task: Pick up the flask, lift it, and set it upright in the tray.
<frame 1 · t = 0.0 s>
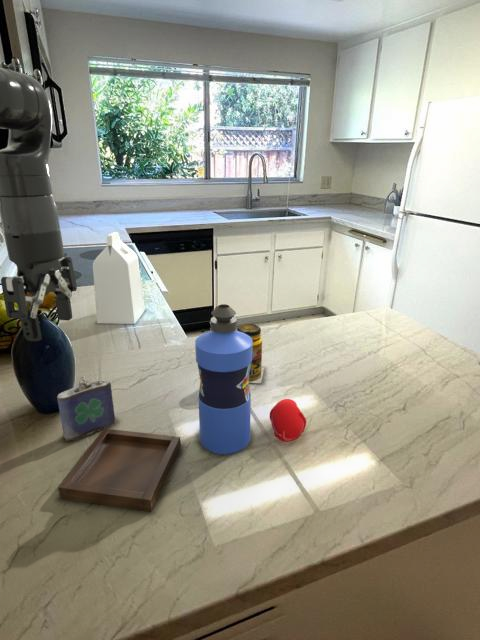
hand: (50, 329, 65), 21 cm above the countertop, tool pointing down, fingers open, 8 cm apart
tray: (125, 470, 64), on the countertop
condiment: (244, 375, 93), on the countertop
water bottle: (225, 437, 72), on the countertop
cap: (287, 434, 73), on the countertop
flask: (90, 430, 74), on the countertop
milk: (122, 316, 128), on the countertop
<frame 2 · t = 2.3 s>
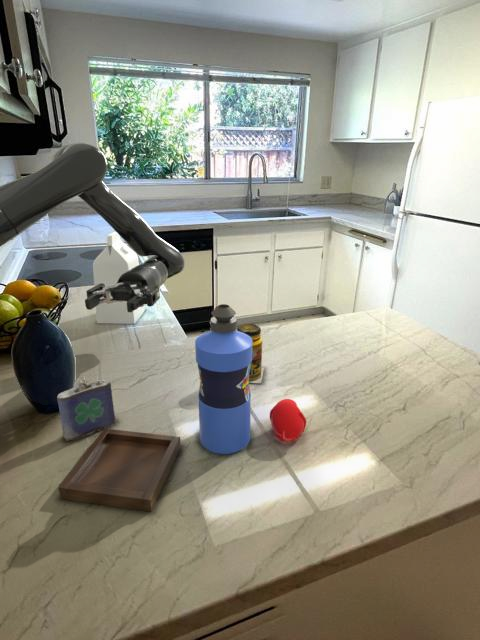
hand: (108, 306, 78), 20 cm above the countertop, tool horizontal, fingers open, 8 cm apart
nothing on the countertop moved.
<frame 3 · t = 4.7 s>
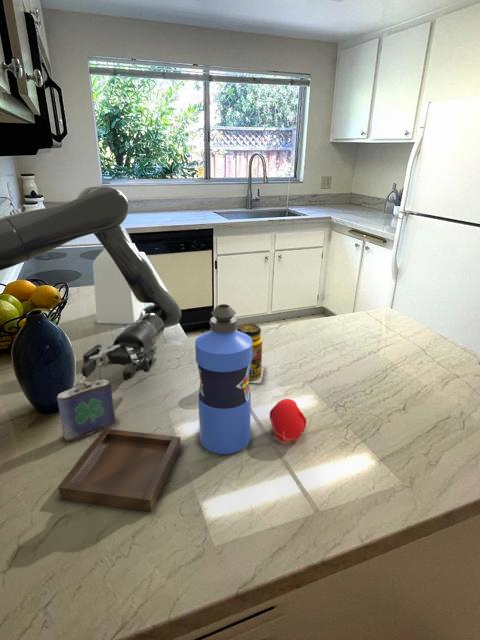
hand: (104, 374, 78), 7 cm above the countertop, tool horizontal, fingers open, 8 cm apart
nothing on the countertop moved.
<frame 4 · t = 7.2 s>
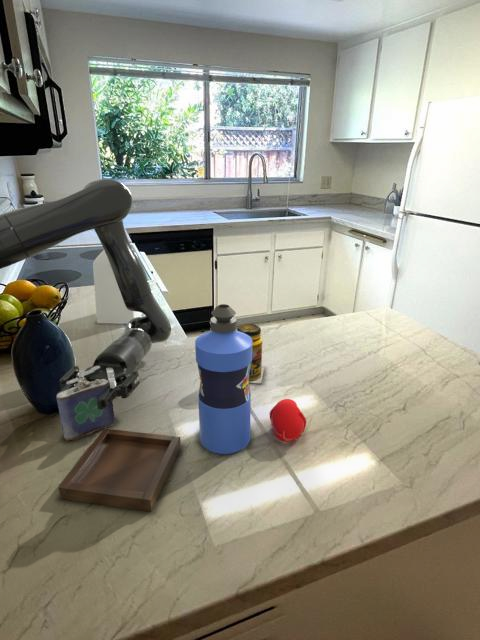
hand: (79, 403, 70), 7 cm above the countertop, tool horizontal, fingers closed on flask, 7 cm apart
flask: (90, 430, 74), on the countertop, touching gripper
everything else where it was.
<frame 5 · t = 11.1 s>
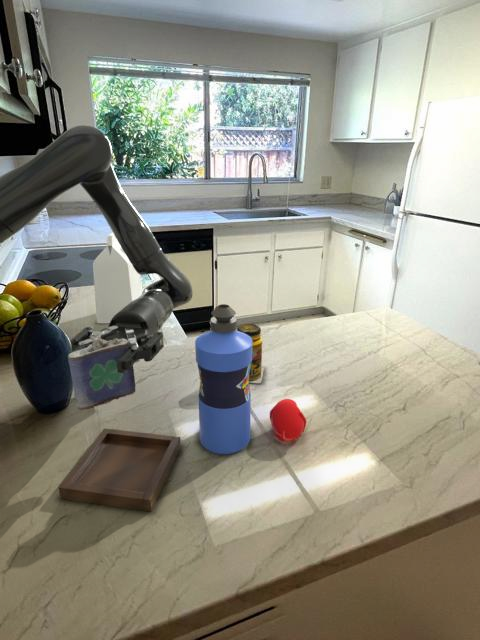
hand: (95, 365, 58), 19 cm above the countertop, tool horizontal, fingers closed on flask, 7 cm apart
flask: (107, 399, 63), point 11 cm above the countertop, touching gripper
everything else where it was.
when the fingers open (8 cm above the countertop, at t = 15.0 s): flask stays where it is, resting on tray.
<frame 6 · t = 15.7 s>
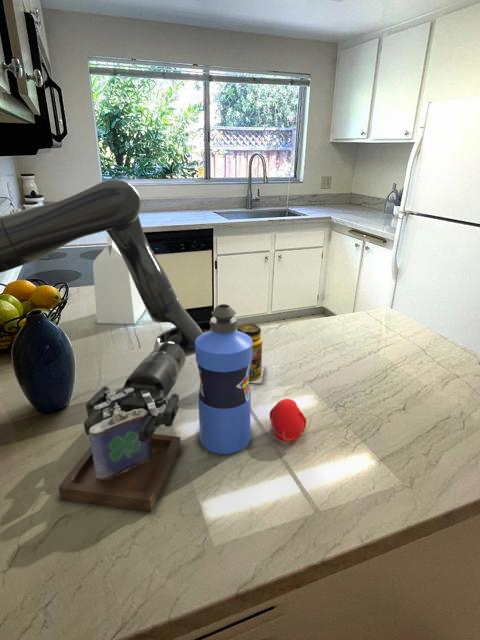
hand: (114, 433, 59), 9 cm above the countertop, tool horizontal, fingers open, 8 cm apart
flask: (125, 467, 64), point 1 cm above the countertop, touching tray
everything else where it was.
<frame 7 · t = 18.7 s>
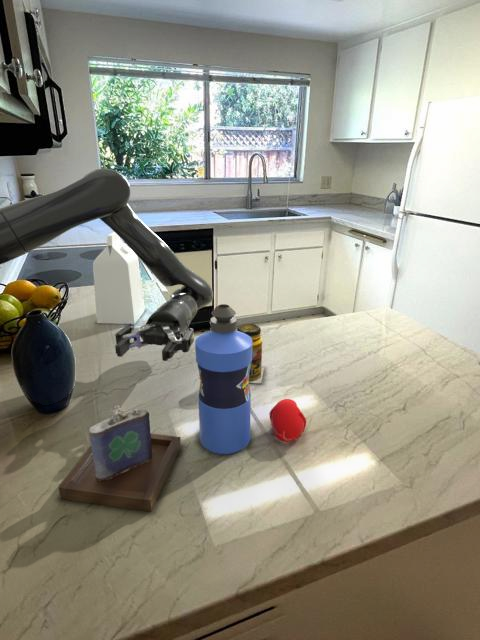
hand: (141, 354, 71), 14 cm above the countertop, tool horizontal, fingers open, 8 cm apart
nothing on the countertop moved.
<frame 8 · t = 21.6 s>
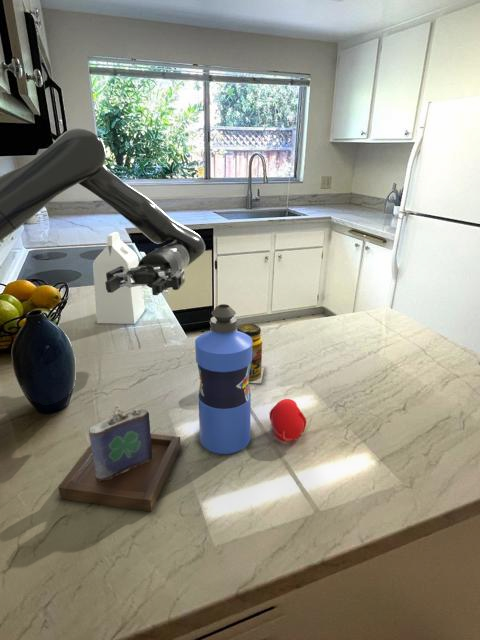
hand: (131, 288, 71), 25 cm above the countertop, tool horizontal, fingers open, 8 cm apart
nothing on the countertop moved.
at the end: flask 0.0 cm off-centre on the tray, point 0.8 cm above the tray's base; flask tilted 0°; the gripper is holding nothing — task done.
